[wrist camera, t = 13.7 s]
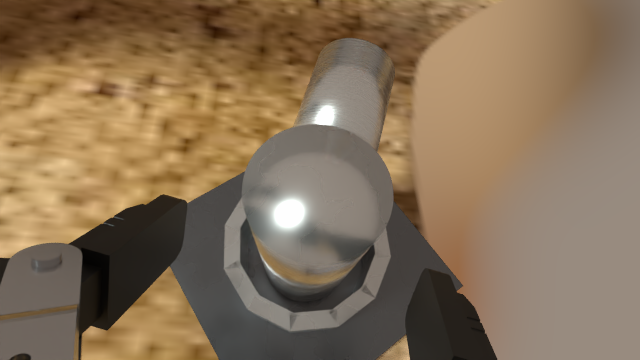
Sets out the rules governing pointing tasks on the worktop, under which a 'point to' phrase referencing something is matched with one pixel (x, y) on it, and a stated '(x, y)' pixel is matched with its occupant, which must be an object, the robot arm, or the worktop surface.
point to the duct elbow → (324, 175)
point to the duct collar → (286, 314)
